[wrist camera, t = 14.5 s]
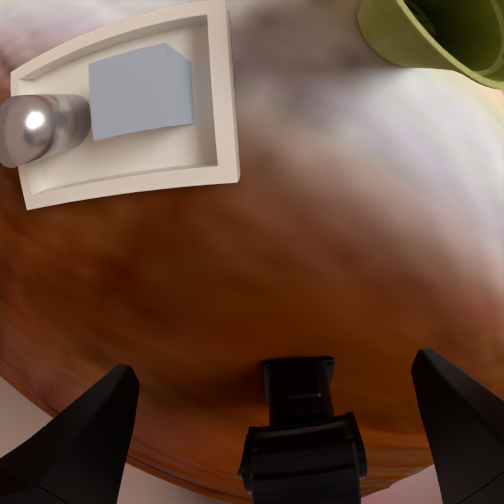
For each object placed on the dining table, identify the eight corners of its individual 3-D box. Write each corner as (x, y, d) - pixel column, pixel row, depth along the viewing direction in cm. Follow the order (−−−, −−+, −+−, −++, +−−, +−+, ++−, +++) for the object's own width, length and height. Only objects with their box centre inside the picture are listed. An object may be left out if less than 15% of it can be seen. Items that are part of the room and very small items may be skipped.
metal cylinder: (95, 142, 16) (39, 158, 11) (53, 154, 16) (-3, 174, 11) (89, 86, 14) (31, 84, 9) (47, 103, 15) (-11, 110, 9)
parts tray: (240, 174, 18) (237, 182, 16) (45, 199, 19) (27, 210, 16) (229, 12, 13) (224, -2, 11) (31, 72, 14) (10, 72, 12)
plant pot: (422, 117, 16) (509, 131, 8) (305, 36, 14) (340, -21, 6) (464, 33, 12) (541, 19, 4) (362, -45, 10) (409, -103, 2)
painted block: (194, 123, 16) (170, 126, 11) (133, 132, 16) (93, 141, 11) (191, 61, 14) (165, 42, 10) (129, 73, 14) (88, 64, 10)
